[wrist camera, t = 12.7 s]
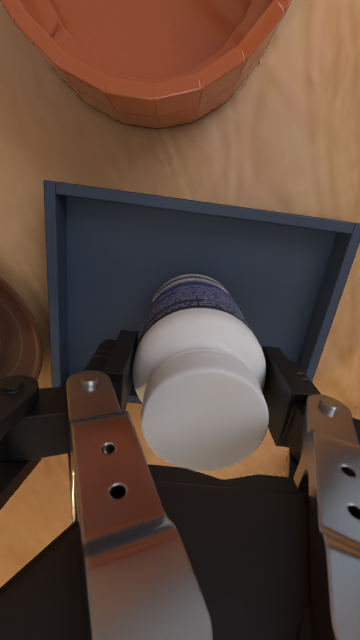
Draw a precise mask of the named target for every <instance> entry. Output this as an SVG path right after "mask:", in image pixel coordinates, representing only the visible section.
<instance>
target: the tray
mask: <svg viewBox="0 0 360 640" xmlns="http://www.w3.org/2000/svg"><path fill="white" fill-rule="evenodd" d="M44 203H45V227H46V251H47V275H48V300H49V324H50V348H51V372H52V388H54V387H61V386H65V385H66V381H67V379H68V378H69V377H70V376H71V375H73V374H75V373H77V372H81V371H84V370H85V368H86V366H87V364H88V363H89V361H90V359H91V358H92V356H93V354H94V353H95V351H96V349H97V348H98V346H99V344H100V343H102V342H104V341H105V340H107V339H112V340H117V338H118V336H119V334H120V331H121V330H129V331H138V342H139V339H140V336H141V333H142V329H143V325H144V322H145V319H146V316H147V313H148V309H149V306H150V303H151V301H152V299H153V297H154V295H155V294H156V292H157V291H158V290H159V289H160V288H161V287H162V286H163V285H164V284H165V283H167V282H168V281H170V280H171V279H173V278H176V277H178V276H182V275H188V274H198V275H203V276H207V277H210V278H212V279H214V280H215V281H217V282H219V283H220V284H221V285H222V286H223V287H224V288H225V289H226V290H227V291H228V292H229V294H230V295H231V297H232V298H233V300H234V302H235V304H236V305H237V307H238V309H239V310H240V312H241V314H242V315H243V317H244V319H245V321H246V322H247V324H248V326H249V327H250V329H251V330H252V332H253V334H254V335H255V337H256V339H257V341H258V342H259V344H260V346H268V347H277V348H280V349H281V351H282V352H283V353H284V355H285V356H286V357H287V359H289V360H291V361H293V362H294V363H296V364H297V365H299V366H300V368H301V369H302V370H303V371H304V373H305V374H306V375H307V377H308V378H309V380H311V382H312V380H313V377H314V375H315V372H316V369H317V366H318V363H319V360H320V357H321V354H322V351H323V348H324V345H325V342H326V339H327V337H328V334H329V331H330V328H331V325H332V322H333V319H334V316H335V313H336V310H337V307H338V304H339V301H340V299H341V296H342V293H343V290H344V287H345V284H346V281H347V278H348V275H349V272H350V269H351V266H352V263H353V261H354V258H355V255H356V252H357V249H358V246H359V243H360V223H353V222H346V221H339V220H331V219H324V218H317V217H310V216H302V215H295V214H288V213H280V212H273V211H266V210H259V209H251V208H244V207H237V206H230V205H222V204H215V203H208V202H200V201H193V200H186V199H179V198H171V197H164V196H157V195H149V194H142V193H135V192H128V191H120V190H113V189H106V188H99V187H91V186H84V185H77V184H69V183H62V182H55V181H48V180H44ZM127 402H129V403H138V404H142V402H141V401H140V399H139V397H138V395H137V393H136V390H135V387H134V383H132V387H131V390H130V394H129V398H128V401H127Z"/></svg>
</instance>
